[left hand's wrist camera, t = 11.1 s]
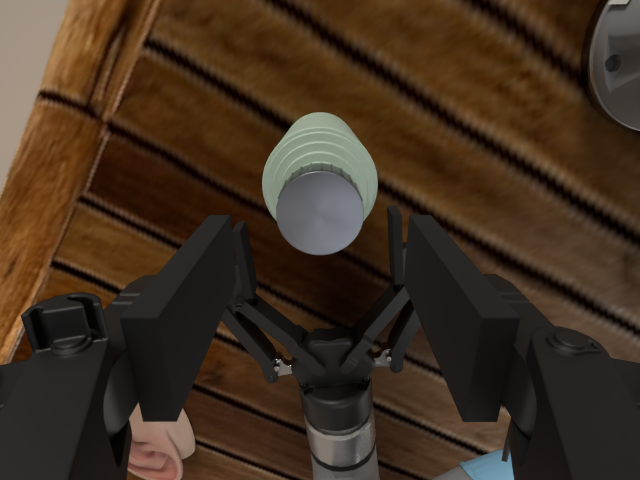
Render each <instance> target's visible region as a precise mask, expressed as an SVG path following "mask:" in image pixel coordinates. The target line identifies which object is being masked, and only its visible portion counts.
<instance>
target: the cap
mask: <svg viewBox="0 0 640 480" xmlns="http://www.w3.org/2000/svg"><path fill="white" fill-rule="evenodd" d="M278 199H279V200H278V203H277V206H276V218H277V224H278V227H279V229H280V231H281V233H282V235H283V236H284V238H285V239H286V240H287V241H288V242H289V243H290V244H291V245H292V246H293V247H295V248H296V249H298V250H300V251H302V252H305V253H308V254H313V255H328V254H332V253H335V252H338V251H340V250H342V249H344V248H345V247H347V246H348V245H349V244H350V243H351V242H352V241H353V240H354V239H355V238H356V236H357V235H358V233H359V231H360V229H361V227H362V224H363V219H364V208H363V203H362V202H363V199H362V197H361V194H360V191H359V189H358V186H357V184H356V182H355V183H354V181H353V180H352V178H351V176H350V174H349V175H348V174H347V173H346V172H345V171H343V169H342V168H339V167H336V166H334V165H333V164H326V163H322V162H321V163H314V164H312V163H310V164H309V165H306V166H304V167H302V166H301V167H300V169H298V170H297V171H295V172H294V173H293V172H292V174H291V176H290V177H289V178H288V180H285V183H284V185H283V188H282V189H281V191H280V193H279V196H278Z"/></svg>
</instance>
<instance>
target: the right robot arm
mask: <svg viewBox="0 0 640 480" xmlns="http://www.w3.org/2000/svg"><path fill="white" fill-rule="evenodd" d="M387 215H388V236H389V257H390V272H391V275H392V278H393V280H394V281H393V282H392V283H391V285H390V286H389V287H388V288H387V289H386V291H385V292H384V293H383V294H382V295H381V297H380V298H379V299H378V300H377V301H376V303H375V304H374V305H373V306H372V307H371V309H370V310H369V311H368V312H367V313H366V315H365V316H364V317H363V318H362V319H359V320H358V321H357V322H356V323H355V324H354V326H353V327H352V328H351V329H350V330H349V329H345V327H344V326H341V327H335V328H332V329H323V328H319V329H314V331H313V332H311V333H309V332H308V331H306V330H305V329H304V328H302V327H301V326H300V325H295V324H294V323H292V322H291V321H290V320H288V319H287V318H286V317H285V316H283V315H282V314H281V313H280V312H278V311H277V310H276V309H275V308H273V307H272V306H271V305H269V304H268V303H267V302H266V301H264V300H263V299H262V298H261V297H259V296H258V295H257V294H255V291H256V288H257V285H258V284H257V279H256V274H255V268H254V263H253V258H252V253H251V247H250V242H249V237H248V232H247V226H246V221H244V222H237V224H236V225H235V227H234V228H233V230H232V238H233V245H234V250H235V254H236V259H235V271H236V282H237V283H236V286H235V288H234V290H233V294H232V295H231V297H230V300H229V302H228V304H227V307H226V309H225V311H224V313H223V316H222V318H221V321H222V322H223V323H224V324H225V325H226V326H227V328H228V329H229V330H230V331H231V332H232V333H233V335H234V336H235V337H236V338H237V339H238V340H239V342H240V343H241V344H242V345H243V346H244V347H245V348H246V350H247V351H248V352H249V353H250V354H251V355H252V357H253V358H254V359H255V360H256V361H257V362H258V363H259V365H260V366H261V368H262V370H263V373H264V376H265V379H266V381H267V382H268V383H275V382H276V381H277V380H278V376H281V375H287V374H292V373H293V375H294V376H295V377H296V378H297V380H298V383H299V388H300V394H301V400H302V407H303V412H304V419H305V425H306V430H307V436H308V442H309V447H310V452H311V460H312V468H313V480H380V478H379V470H378V461H377V452H376V439H375V437H376V433H375V420H374V408H373V395H372V382H371V372H372V370H373V368H374V366H390V369H391V371H392V372H394V373H398V372H400V371H401V370H402V368H403V359H404V353H405V351H406V349H407V348H408V346H409V344H410V342H411V340H412V339H413V337H414V335H415V333H416V331H417V329H418V328H419V326H420V324H421V323H420V320H419V318H418V316H417V313H416V311H415V309H414V307H413V304H412V302H411V300H410V297H409V295H408V293H407V290H406V288H405V286H404V283H403V282H404V271H405V260H406V249H407V242H405V243H402V215H401V213H400V212H399V210H398V209H397V207H396V206H387ZM403 306H404V307H403ZM402 307H403V309H402V311H401V312H400V314H399V316H398V318H397V320H396V322H395V324H394V326H393V328H392V330H391V332H390V334H389V337H388V341H387V342H384V343H383V344H382V346H381V348H380V350H379V351H378V352H376V353H373V351H372V350H371V349H370V348H371V346H372V345H373V342H374V339H375V338H376V337H377V336H378V335H379V333H380V332H381V331H382V330H383V329H384V328H385V327H386V325H387V324H388V323H389V322H390V321H391V320H392V318H393V317H394V316H395V315H396V314H397V313H398V312H399V310H400V309H401V308H402ZM258 326H259V327H260V328H261V329H263V330H264V331H265V332H267V333H268V334H269V335H270V336H272V337H273V338H274V339H276V340H277V341H278V342H280V343H281V344H282V345H284V346H285V347H286V348H287V350H288V352H289V353H290V354H291V355H292V356H293V358H292V360H287V359H285V358H284V356H283V355H282V353H281V352H276V349H275V348H274V346H273V344H272V343H271V342H270V341H269V339H268V338H267V337H266V336H265V335H264V333H263V332H262V331H261V330H260V329H259V327H258ZM502 454H503V450H496V451H494V452H491V453H488V454H485V455H483V456H480V457H477V458H474V459H472V460H469V461H466V462H461V463H460V466H458V467H455V468H453V469H451V470H449V471H447V472H445V473H443V474H441V475H439V476H437V477H435V478H433V479H431V480H514V476H513V469H512V461H511V454H509V457H508V460H507V462H504V461H501V460H502Z"/></svg>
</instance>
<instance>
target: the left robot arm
mask: <svg viewBox="0 0 640 480" xmlns="http://www.w3.org/2000/svg"><path fill="white" fill-rule="evenodd" d="M582 74H583V80H584V85H585V88H586V91H587V94H588V96H589V98H590V100H591V102H592V104H593V105H594V107H595V108H596V109H597V111H598V112H599V113H600V114H601V115H602V116H603V117H605V118H606V119H607V120H609V121H610V122H612V123H614V124H615V125H618V126H620V127H623V128H626V129H630V130H636V131H640V0H601V1H600V3H599V5H598V7H597V9H596V11H595V13H594V15H593V17H592V19H591V22H590V25H589V27H588V30H587V34H586V37H585V41H584V47H583V54H582ZM236 283H237V282H236V271H235V260H234V249H233V238H232V227H231V216H230V215H209V216H208V217H207V218H206V219H205V221H204V222H203V223H202V224H201V225H200V226H199V227H198V229H197V230H196V231H195V232H194V233H193V234H192V235H191V236H190V238H189V239H188V240H187V241H186V242H185V243H184V244H183V246H182V247H181V248H180V249H179V250H178V251H177V252H176V254H175V255H174V256H173V257H172V258H171V259H170V260H169V262H168V263H167V264H166V265H165V266H164V267H163V268H162V269H161V271H160V272H159V273H158V274H157V275H144V276H143V277H141V278H139V279H137V280H135V281H134V282H132V283H130V284H129V285H128V286H127V287H126V288H125V289H124V290H123V291H122V292H121V293H120V294H119V296H117V297H116V298H115V299H114V300H113V301H112V302H111V304H109V305H108V306H107V307H106V308H105V309H104V310H103V309H102V304H101V300H100V298H99V297H98V296H96V295H95V294H91V293H84V292H82V293H69V294H64V295H60V296H55V297H52V298H50V299H47V300H44V301H41V302H39V303H37V304H36V305H34V306H32V307H30V308H28V309H27V310H26V311H25V312H24V313H23V314H22V315H21V318H22V321H23V324H24V327H25V330H26V333H27V336H28V339H29V342H30V345H31V348H32V351H33V353H32V355H31V357H30V358H29V360H26V361H20V362H15V363H10V364H5V365H0V480H126V477H127V470H128V463H129V455H130V448H131V441H132V429H131V424H130V420H129V418H130V416H131V414H132V413H133V411H134V409H135V407H136V406H137V404H138V402H139V406H140V411H141V415H142V420H143V422H177V420H178V418H179V416H180V413H181V411H182V409H183V406H184V404H185V402H186V399H187V397H188V395H189V392H190V390H191V388H192V386H193V383H194V381H195V379H196V376H197V374H198V372H199V369H200V367H201V365H202V362H203V360H204V358H205V355H206V353H207V351H208V348H209V346H210V344H211V341H212V339H213V337H214V334H215V332H216V330H217V327H218V325H219V323H220V320H221V318H222V316H223V313H224V311H225V309H226V307H227V304H228V302H229V300H230V297H231V295H232V293H233V290H234V288H235V286H236ZM403 283H404V286H405V288H406V290H407V293H408V295H409V297H410V300H411V302H412V304H413V307H414V309H415V311H416V313H417V316H418V318H419V320H420V323H421V325H422V327H423V330H424V332H425V334H426V337H427V339H428V341H429V344H430V346H431V348H432V351H433V353H434V355H435V358H436V360H437V362H438V365H439V367H440V369H441V372H442V374H443V376H444V379H445V381H446V383H447V386H448V388H449V390H450V392H451V395H452V397H453V399H454V402H455V404H456V406H457V409H458V411H459V413H460V416H461V418H462V420H463V422H497V420H498V415H499V411H500V406H501V402H503V404H504V405H505V407H506V409H507V411H508V412H509V414H510V416H511V420H510V424H509V428H508V433H507V437H506V441H505V445H504V449H503V454H502V460H501V461H504V462H507V460H508V457H509V454H511V461H512V469H513V476H514V480H640V363H635V362H629V361H624V360H619V359H614V358H610V356H609V354H608V352H607V351H606V350H605V349H604V348H603V346H602V345H601V344H600V343H598V342H597V341H595V340H594V339H592V338H591V337H589V336H587V335H585V334H582V333H580V332H578V331H575V330H572V329H568V328H564V327H557V326H554V325H553V324H552V323H551V322H550V321H549V320H548V319H547V318H546V317H545V316H544V315H543V314H542V313H541V312H540V311H539V310H538V309H537V308H536V307H535V306H534V305H533V304H532V303H529V300H528V299H527V298H526V297H525V296H524V295H521V292H520V291H519V290H518V289H517V288H516V287H515V286H514V285H513V284H512V283H511V282H509V281H507V280H505V279H504V278H502V277H500V276H498V275H496V274H482V273H481V272H480V271H479V269H478V268H477V267H476V266H475V265H474V264H473V263H472V262H471V260H470V259H469V258H468V257H467V256H466V255H465V254H464V252H463V251H462V250H461V249H460V248H459V247H458V246H457V244H456V243H455V242H454V241H453V240H452V239H451V238H450V237H449V235H448V234H447V233H446V232H445V231H444V230H443V229H442V227H441V226H440V225H439V224H438V223H437V222H436V221H435V219H434V218H433V217H432V216H431V215H409V227H408V238H407V249H406V260H405V271H404V282H403Z"/></svg>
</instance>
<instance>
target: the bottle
mask: <svg viewBox="0 0 640 480" xmlns="http://www.w3.org/2000/svg"><path fill="white" fill-rule="evenodd" d="M321 162H322V163H326V164H333V165H334V166H336V167H339V168H342V169H343V171H345V172H346V173H347V174H348V175H349V174H350V176H351V178H352V180H353V181H354V183H355V182H356V184H357V186H358V189H359V191H360V194H361V197H362V199H363V202H362V203H363V208H364V219H363V221H364V220H365V219H366V217H367V216H368V214H369V213H370V211H371V209H372V207H373V205H374V202H375V199H376V195H377V188H378V179H377V172H376V168H375V165H374V162H373V160H372V158H371V156H370V154H369V153H368V152H367V150H366V149H365V147H364V146H363V145H362V143H361V142H360V141H359V140H358V138H357V137H356V136H355V134H354V133H353V132H352V130H351V129H350V128H349V127H348V125H347V124H346V123H345V122H344V121H343V120H341V119H340V118H338V117H337V116H334V115H332V114H329V113H323V112H317V113H311V114H308V115H305V116H303V117H302V118H300V119H299V120H297V121H296V122H295V123H294V124H293V125H292V127H291V128H290V129H289V130H288V132H287V133H286V134H285V136H284V137H283V138H282V140H281V141H280V142H279V144H278V145H277V146H276V147H275V149H274V150H273V152H272V153H271V154H270V156H269V158H268V160H267V162H266V165H265V168H264V172H263V179H262V189H263V195H264V199H265V202H266V205H267V207H268V209H269V211H270V213H271V214H272V216H273V217H274V219H275V220H276V221H277V218H276V206H277V203H278V200H279V199H278V196H279V193H280V191H281V189H282V188H283V185H284V183H285V180H288V178H289V177H290V176H291V174H292V172H293V173H294V172H295V171H297V170H298V169H300V167H301V166H302V167H304V166H306V165H309V164H310V163H312V164H314V163H321Z"/></svg>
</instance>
